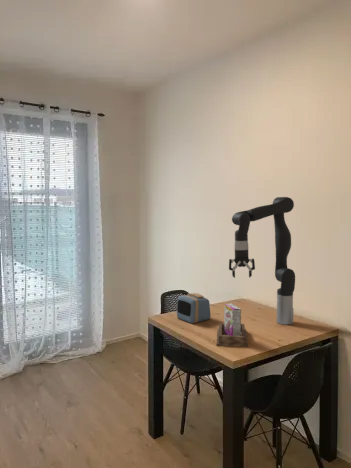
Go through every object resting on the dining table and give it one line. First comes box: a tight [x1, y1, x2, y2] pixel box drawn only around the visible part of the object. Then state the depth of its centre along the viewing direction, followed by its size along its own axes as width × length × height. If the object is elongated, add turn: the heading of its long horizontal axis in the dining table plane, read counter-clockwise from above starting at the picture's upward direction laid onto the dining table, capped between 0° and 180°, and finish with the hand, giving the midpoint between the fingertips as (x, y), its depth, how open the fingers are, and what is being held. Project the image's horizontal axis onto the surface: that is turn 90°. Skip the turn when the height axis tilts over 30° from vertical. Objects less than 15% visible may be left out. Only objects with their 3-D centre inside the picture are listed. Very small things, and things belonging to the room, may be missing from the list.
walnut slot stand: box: [216, 322, 249, 348], centre depth 210 cm, size 16×24×4 cm, turn 173°
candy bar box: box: [223, 303, 242, 336], centre depth 209 cm, size 11×5×16 cm, turn 17°
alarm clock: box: [176, 292, 212, 324], centre depth 243 cm, size 16×16×16 cm
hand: (241, 277), depth 219 cm, fingers open, 8 cm apart
